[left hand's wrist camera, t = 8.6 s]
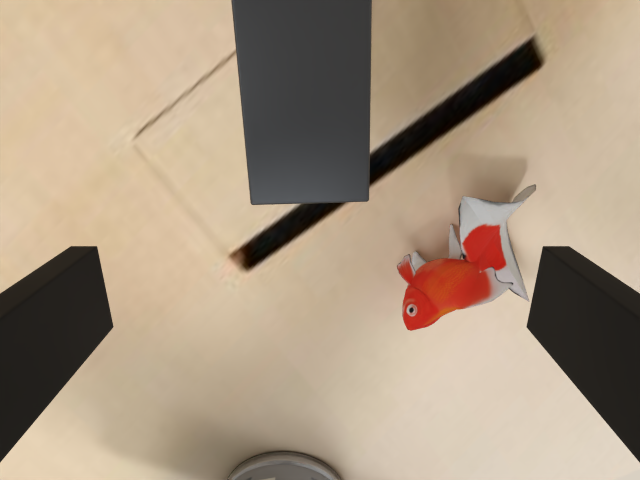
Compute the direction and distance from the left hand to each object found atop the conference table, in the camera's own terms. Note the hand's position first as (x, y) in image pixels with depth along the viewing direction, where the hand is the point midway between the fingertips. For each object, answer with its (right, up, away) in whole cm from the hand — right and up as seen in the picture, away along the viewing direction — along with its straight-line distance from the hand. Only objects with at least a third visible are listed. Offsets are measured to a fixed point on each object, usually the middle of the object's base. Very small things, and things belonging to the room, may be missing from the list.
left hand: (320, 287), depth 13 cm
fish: (+13, +2, +27) cm, 30 cm away
